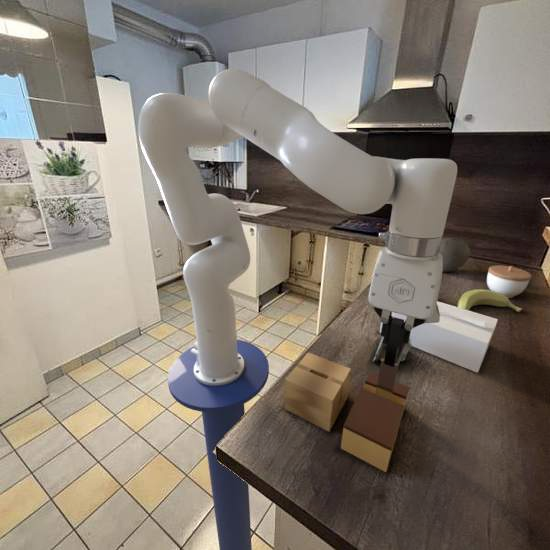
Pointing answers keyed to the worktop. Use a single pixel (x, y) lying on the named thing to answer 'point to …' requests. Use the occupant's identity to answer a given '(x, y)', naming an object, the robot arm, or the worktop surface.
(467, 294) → the banana
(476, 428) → the worktop surface
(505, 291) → the lidded bowl
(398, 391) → the cake slice
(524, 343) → the worktop surface
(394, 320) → the knife
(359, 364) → the worktop surface
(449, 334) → the tissue box
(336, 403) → the knife block
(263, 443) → the worktop surface
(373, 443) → the loaf cake
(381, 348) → the chocolate cake
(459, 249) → the cantaloupe
